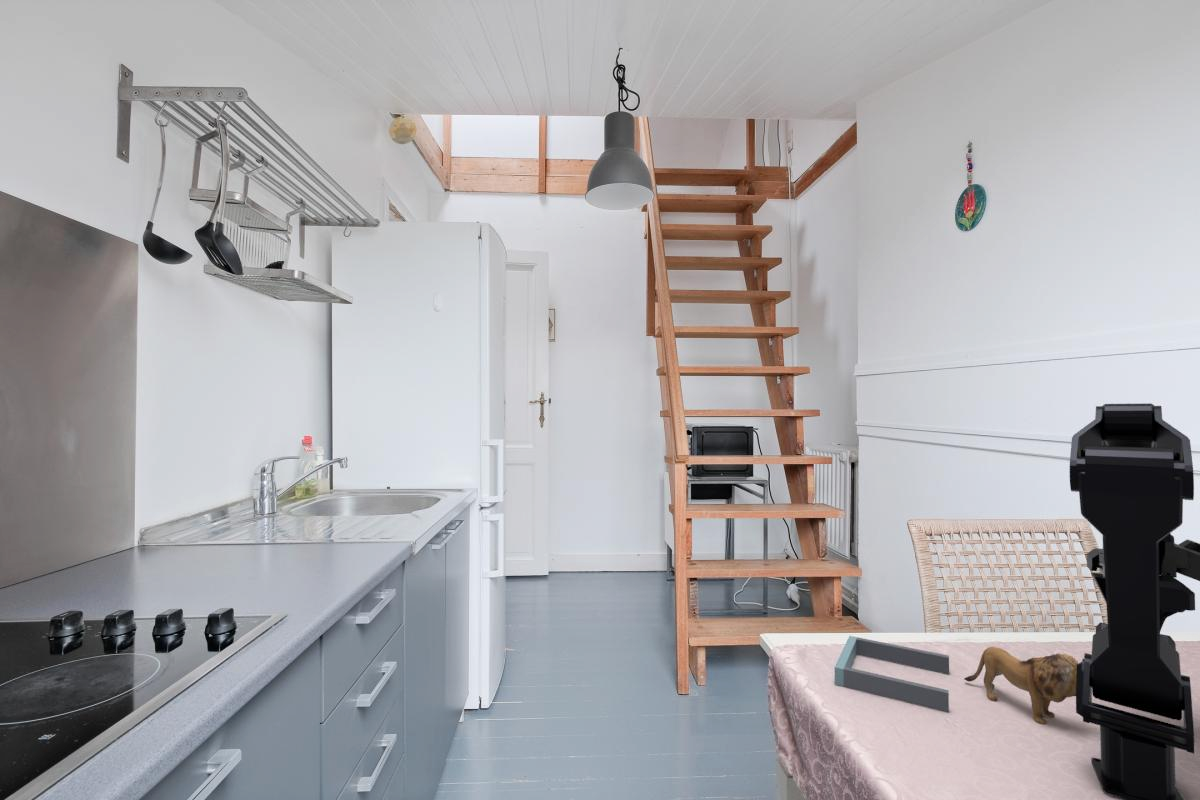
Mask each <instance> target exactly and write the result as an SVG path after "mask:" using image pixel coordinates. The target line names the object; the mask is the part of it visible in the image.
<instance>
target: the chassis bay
mask: <svg viewBox="0 0 1200 800" xmlns="http://www.w3.org/2000/svg"><path fill="white" fill-rule="evenodd" d="M856 656H862V657H865V658H870V659H876V660H880V661H886V662H889V663H894V664H898V665H899V664H900V665H904V666H909V667H913V668H917V669H922V670H927V671H933V672H937V673H940V672H941V674H945V675H950V655H949V654H943V653H938V652H932V651H928V650H924V649H918V648H913V647H908V646H903V645H899V644H894V643H893V644H892V643H888V642H883V641H878V640H872V639H867V638H863V637H857V636H852V635H849V636H848V637H847V640H846V642H845V644H844V646H843V648H842V651H841V654H840V656H839V657H838V659H837V661H836V663H835V666H834V685H836V686H840V687H843V688H849V689H852V690H855V691H860V692H863V693H864V692H865V693H868V694H872V695H876V696H881V697H885V698H888V699H893V700H897V701H901V702H905V703H908V704H913V705H916V706H917V705H918V706H921V707H926V708H929V709H933V710H937V711H941V712H946V713H949V711H950V708H949V707H950V705H949V704H950V703H949V699H950V698H949V696H950V694H949V693H950V692H949V691H950V690H948V689H946V688H945V689H944V688H940V687H936V686H931V685H926V684H923V683H918V682H914V681H911V680H907V679H906V680H905V679H900V678H896V677H891V676H887V675H883V674H879V673H874V672H870V671H866V670H862V669H856V668H853V664H854V662H855V659H856V658H857V657H856Z"/></svg>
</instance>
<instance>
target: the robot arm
mask: <svg viewBox="0 0 1200 800" xmlns="http://www.w3.org/2000/svg"><path fill="white" fill-rule="evenodd" d="M1094 417H1095V419H1093V420H1091V422H1089V423H1088V424H1086V425H1085V426H1084V427H1083V428H1081V429H1080V430H1078V431H1077V432H1076V433H1074V434H1073V435H1072V436H1071V444H1070V445H1071V446H1070V456H1069V487H1070V491H1071V492H1075V493H1077V492H1078V495H1079V507H1080V514H1081V516H1082V517H1083V518H1084V519H1085V520H1086V521H1087V522H1088V523H1089V524H1091V525H1092V526H1093V527H1094V529H1096V531H1098V533H1100V535H1102V548H1098V547H1097V548H1096V547H1094V548H1093V549H1092V550H1090V551H1088V552H1087V553H1086V567H1087V569H1089V570H1090V571H1091V573H1090V574H1091V577H1092V578H1093V580H1094V582H1095V584H1096V586H1097V587H1098V590H1099V592H1100V594H1101V596H1102V597H1103V600H1104V601H1105V603H1106V604H1105V605H1106V618H1107V619H1106V620H1107V621H1106V622H1107V623H1105V622H1099V623H1098V624H1096V626H1095V634H1094V633H1093V635H1092V640H1091V641H1092V643H1091V653H1086V652H1085V653H1084V654H1083V655H1084V656H1083V658H1082V661H1081V662H1078V664H1077V675H1076V696H1075V713H1076V714H1078V715H1079V716H1080V717H1082V722H1083V723H1087V724H1090V723H1091V724H1093V725H1096V726H1099V728H1100V729H1099V731H1100V732H1099V733H1100V734H1099V735H1100V739H1099V740H1100V758H1097V757H1091V759H1090V760H1091V764H1092V768H1093V770H1094V772H1095V774H1096V778H1097V779H1098V782H1099V785H1100V786H1101V789H1102V791H1103V793H1106V794H1108V795H1112V796H1115V797H1118V798H1122V799H1125V800H1185V799H1184V797H1183V796H1182V794H1181V793H1180V791H1179V789H1178V787H1177V785H1176V753H1175V752H1176V750H1175V749H1179V750H1183V751H1186V753H1190V754H1192V755H1193V754H1194V755H1195V732H1194V731H1195V730H1194V716H1193V701H1192V700H1193V699H1192V698H1193V697H1192V686H1191V678H1190V676H1188V675H1183V674H1182V673H1181V658H1180V653H1179V652H1178V651H1177V647H1176V646H1177V645H1176V642H1175V641H1174V639H1173V638H1172V637H1171V635H1167V634H1162V633H1161V631H1162V628H1163V626H1164V624H1165V621H1166V619H1167V618H1169V617H1171V616H1172V615H1175V614H1178V613H1184V612H1186V611H1188V612H1190V611H1196V593H1195V592H1194V591H1193V590H1191V588H1189V587H1188V586H1187V585H1185V584H1184V583H1183V582H1181V581H1180V580H1178V579H1177V574H1180V575H1183V576H1185V577H1187V578H1191V579H1194V580H1196V581H1198V582H1200V543H1199V542H1196V541H1193V540H1190V539H1185V540H1184V541H1182V542H1180V543H1175V537H1174V535H1172V533H1173V532H1174V531H1176V530H1177V529H1178V528H1179V527H1181V526H1182V524H1183V516H1184V515H1183V513H1184V511H1183V509H1184V507H1183V506H1184V500H1185V501H1187V500H1188V501H1194V496H1195V495H1194V494H1195V481H1194V479H1195V477H1194V465H1193V456H1192V448H1191V447H1192V445H1191V439H1190V438H1189V437H1188V436H1187V435H1185V434H1184V433H1183V432H1181V431H1180V430H1179V429H1177V428H1175V427H1173V426H1172V425H1171V424H1170V423H1169V422H1167V421H1165V420H1164V419H1163V412H1162V406H1161V405H1154V404H1153V403H1104V404H1103V405H1101V406H1098V405H1095V416H1094ZM1098 569H1099V572H1097V570H1098ZM1093 697H1094V699H1097V700H1100V701H1103V702H1107V703H1111V704H1114V705H1118V706H1122V707H1126V708H1129V709H1133V710H1137V711H1140V712H1145V713H1148V714H1151V715H1154V716H1160V717H1164V718H1167V719H1171V720H1176V721H1181V720H1182V719H1183V726H1181V725H1177V724H1173V723H1171V722H1166V721H1163V720H1159V719H1156V718H1153V717H1148V716H1144V715H1139V714H1137V713H1133V712H1129V711H1126V710H1122V709H1118V708H1116V707H1115V708H1114V707H1111V706H1107V705H1104V704H1101V703H1096V702H1093Z"/></svg>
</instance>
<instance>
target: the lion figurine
mask: <svg viewBox="0 0 1200 800" xmlns="http://www.w3.org/2000/svg"><path fill="white" fill-rule="evenodd" d="M1077 664H1079V661H1078V660H1076V658H1074V657H1073V656H1072V655H1069V654H1066V653H1062V654H1061V653H1055V654H1051V655H1045V656H1043V657H1042V656H1040V657H1031V658H1028V659H1027V660H1021V659H1018V658H1016V657H1015V656H1013V655H1012V654H1010V653H1009V652H1008V651H1006V650H1005V649H1003V648H1000V647H995V646H989V647H987V648H985V649H984V650H983V652H982V654H981V656H980V660H979V664H978V667H977V669H976V671H975V673H973V674H972V675H968V676H966V677H964V678H963V680H965V681H967V682H973V681H975V680H976V679H978V677H979V675H981V673H982V671H983V669H984V667H985V672H984V676H983V685H984V686H985V690H986V697H987V698H988V700H990V701H994V702H996V701H998V700H999V697H998V696H997V695H996V694H995V693H994V691H993V689H995V684H994V680H995V679H996V677H998V676H999V677H1000V676H1001V675H1003V677H1004V678H1005V679H1006V680H1007V681H1008V682H1009V683H1010V684H1011V685H1013V686H1014V687H1016V688H1018V689H1020V690H1023V691H1025V692H1028V694H1029V696H1030V701H1031V708H1032V717H1033V720H1034V721H1035V722H1036V723H1037V724H1041V725H1045V724H1047V722H1048V721H1047V719H1045V718H1044V717H1046V718H1048V719H1055V716H1056V715H1055V713H1054V712H1053V711H1050V710H1049V708H1050V704H1051V702H1054V703H1062V702H1063V701H1065V699H1067V698H1073V697H1076V675H1077Z"/></svg>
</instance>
